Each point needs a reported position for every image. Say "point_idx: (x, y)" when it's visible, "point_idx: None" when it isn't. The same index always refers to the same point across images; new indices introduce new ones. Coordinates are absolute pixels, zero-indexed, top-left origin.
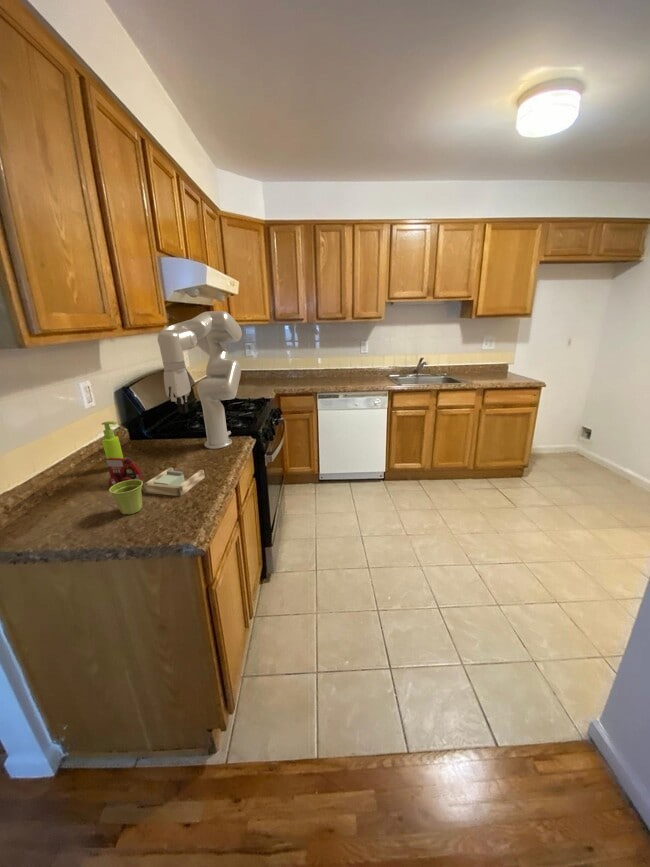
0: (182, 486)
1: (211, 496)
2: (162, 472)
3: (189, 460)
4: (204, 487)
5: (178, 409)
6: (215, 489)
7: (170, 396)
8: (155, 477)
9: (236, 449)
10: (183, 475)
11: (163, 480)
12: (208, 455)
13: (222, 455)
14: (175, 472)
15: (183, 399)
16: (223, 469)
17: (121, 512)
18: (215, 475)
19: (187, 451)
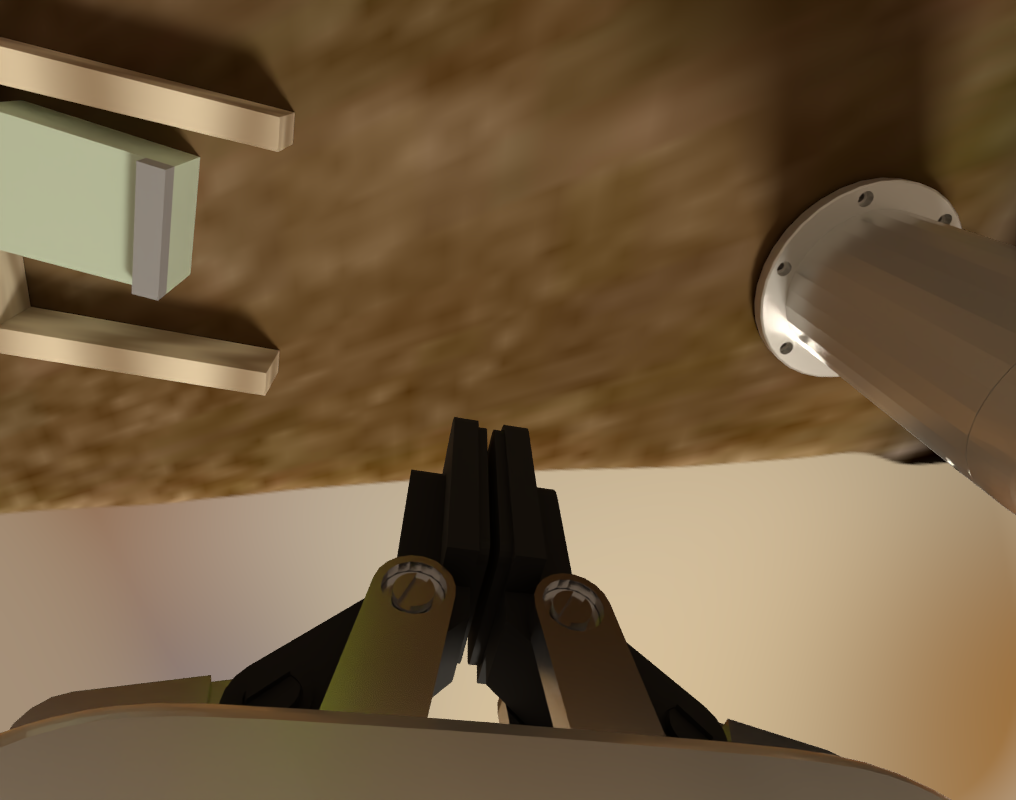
0: (1, 352)
1: (61, 474)
2: (170, 97)
3: (562, 160)
4: (148, 411)
5: (450, 458)
6: (140, 469)
7: (225, 729)
8: (63, 77)
9: (703, 424)
10: (167, 290)
11: (26, 183)
12: (637, 277)
13: (617, 370)
14: (134, 247)
15: (533, 707)
16: (394, 437)
17: None
18: (309, 420)
19: (775, 59)
